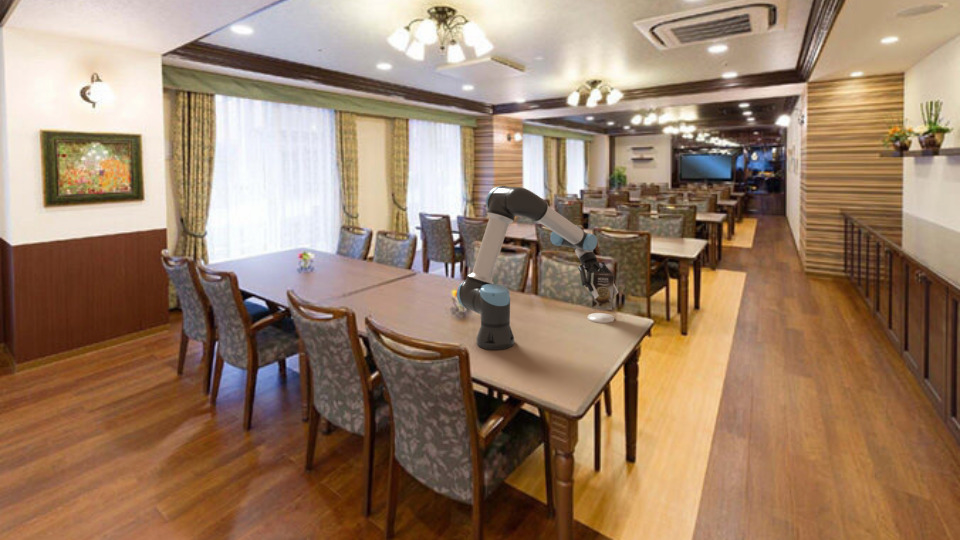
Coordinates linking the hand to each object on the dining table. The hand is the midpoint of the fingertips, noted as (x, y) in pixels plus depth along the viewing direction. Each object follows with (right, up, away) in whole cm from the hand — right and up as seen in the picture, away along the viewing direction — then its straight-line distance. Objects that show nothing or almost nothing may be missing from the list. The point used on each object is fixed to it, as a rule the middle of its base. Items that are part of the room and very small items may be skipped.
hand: (606, 295), depth 221 cm
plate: (-1, -11, +5) cm, 12 cm away
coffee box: (-1, -6, +4) cm, 7 cm away
